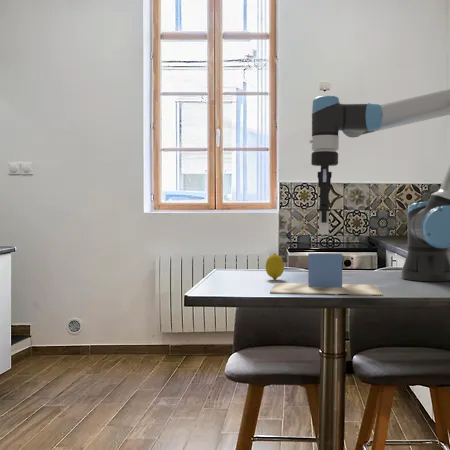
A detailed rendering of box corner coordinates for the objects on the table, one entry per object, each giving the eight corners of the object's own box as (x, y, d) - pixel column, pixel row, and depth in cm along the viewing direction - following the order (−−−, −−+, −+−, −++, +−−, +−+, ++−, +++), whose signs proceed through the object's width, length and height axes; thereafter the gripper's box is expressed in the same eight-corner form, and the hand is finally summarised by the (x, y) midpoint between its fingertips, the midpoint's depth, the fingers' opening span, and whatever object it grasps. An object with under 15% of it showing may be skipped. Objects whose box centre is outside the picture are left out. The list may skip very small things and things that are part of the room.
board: (376, 286, 163) (376, 284, 163) (382, 295, 145) (382, 294, 145) (275, 284, 168) (275, 283, 168) (269, 293, 150) (269, 291, 150)
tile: (341, 286, 160) (341, 253, 159) (342, 287, 158) (342, 254, 158) (308, 286, 161) (308, 253, 161) (308, 286, 159) (308, 253, 159)
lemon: (282, 281, 175) (282, 254, 175) (264, 280, 177) (264, 254, 176) (284, 278, 181) (284, 253, 181) (266, 278, 182) (266, 252, 182)
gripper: (311, 153, 174) (310, 233, 175) (311, 149, 161) (310, 235, 162) (337, 153, 173) (336, 233, 174) (338, 149, 160) (337, 235, 161)
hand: (323, 234), depth 168 cm, fingers closed
